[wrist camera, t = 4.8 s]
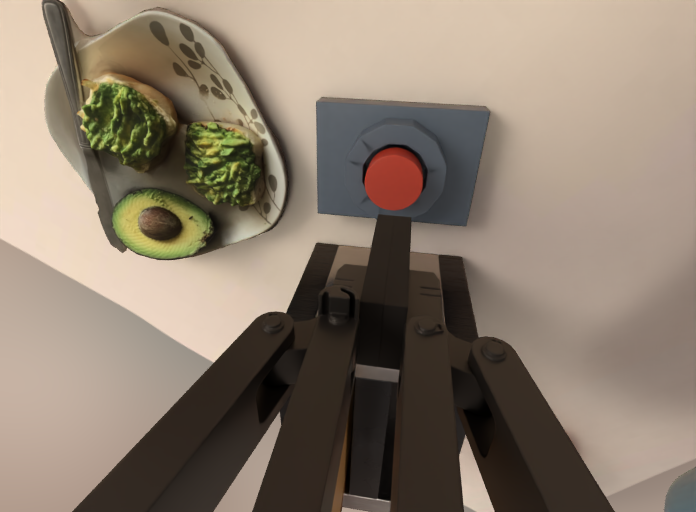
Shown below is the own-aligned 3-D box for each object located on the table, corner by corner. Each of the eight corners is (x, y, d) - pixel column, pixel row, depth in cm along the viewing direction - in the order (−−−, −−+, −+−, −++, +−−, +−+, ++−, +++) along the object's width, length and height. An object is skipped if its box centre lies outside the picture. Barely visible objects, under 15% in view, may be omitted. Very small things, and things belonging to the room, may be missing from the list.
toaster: (466, 239, 31) (491, 347, 21) (432, 396, 40) (439, 523, 30) (316, 225, 32) (270, 321, 22) (318, 381, 42) (287, 498, 32)
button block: (486, 106, 26) (495, 117, 23) (463, 216, 30) (469, 238, 27) (321, 96, 27) (309, 106, 24) (321, 204, 31) (312, 224, 28)
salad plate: (-12, 49, 28) (-80, 54, 24) (183, -76, 23) (136, -95, 19) (146, 265, 37) (115, 295, 33) (316, 212, 31) (302, 239, 27)
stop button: (425, 149, 25) (426, 157, 23) (418, 202, 26) (419, 213, 25) (368, 145, 25) (365, 153, 23) (365, 197, 27) (363, 208, 25)
